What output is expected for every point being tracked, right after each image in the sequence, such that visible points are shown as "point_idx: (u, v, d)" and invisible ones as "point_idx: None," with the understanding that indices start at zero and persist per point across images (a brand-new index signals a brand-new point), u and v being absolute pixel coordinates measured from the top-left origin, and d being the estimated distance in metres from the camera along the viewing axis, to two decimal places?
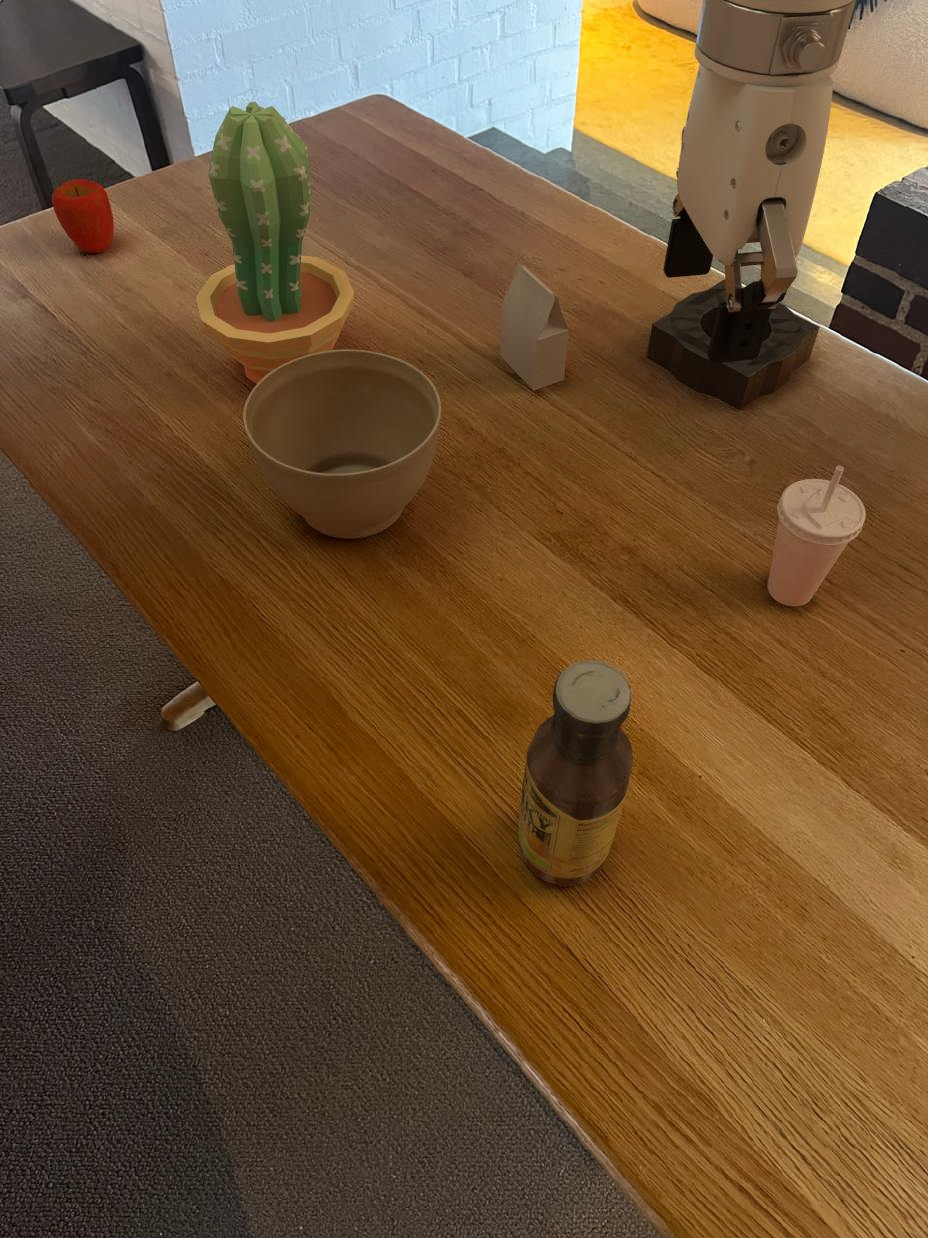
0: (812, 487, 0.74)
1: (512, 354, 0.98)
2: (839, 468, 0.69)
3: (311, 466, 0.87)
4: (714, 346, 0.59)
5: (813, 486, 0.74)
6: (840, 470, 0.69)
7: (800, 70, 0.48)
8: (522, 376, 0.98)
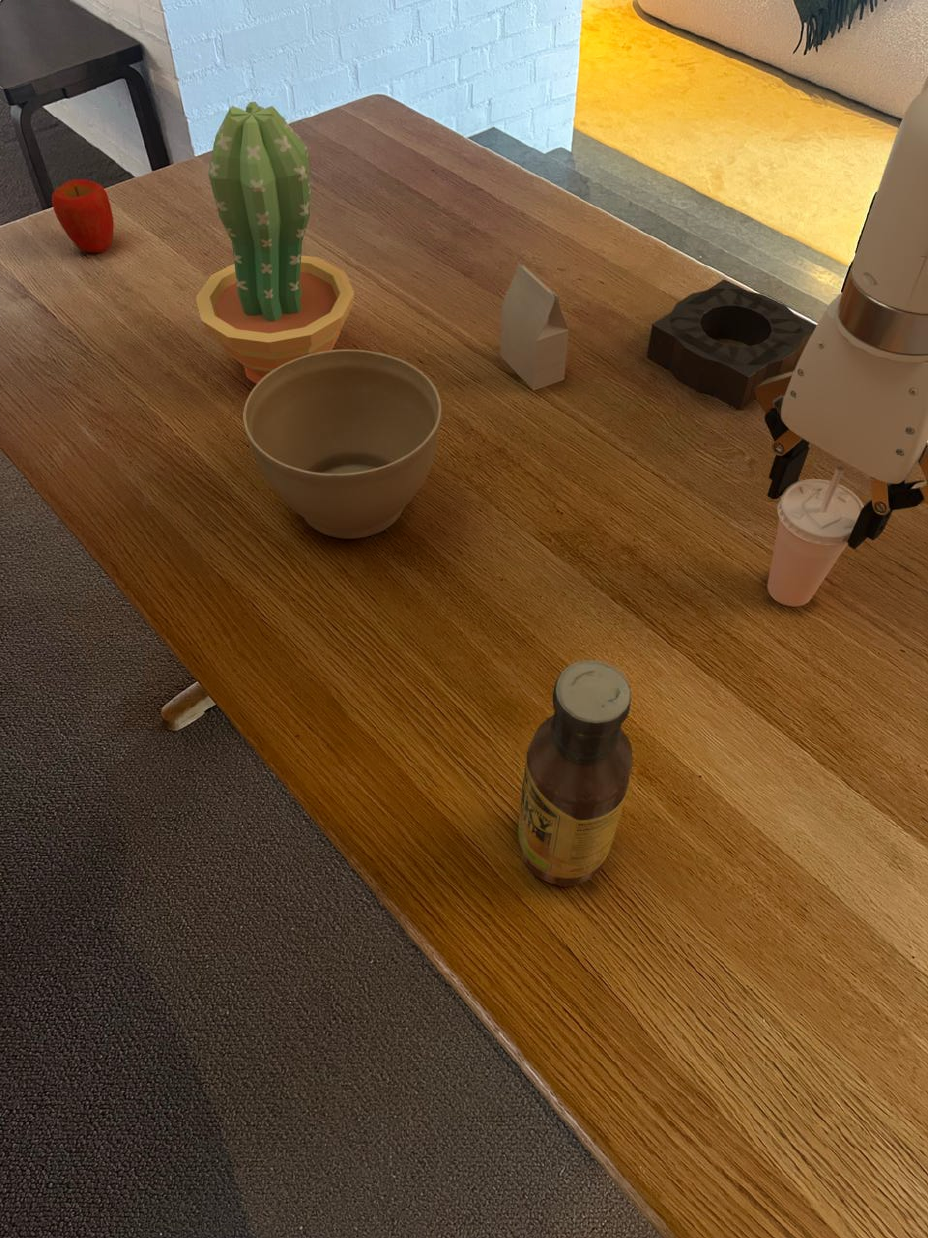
0: (812, 487, 0.74)
1: (512, 354, 0.98)
2: (840, 468, 0.69)
3: (311, 466, 0.87)
4: (859, 538, 0.70)
5: (813, 486, 0.74)
6: (840, 470, 0.69)
7: None
8: (522, 376, 0.98)
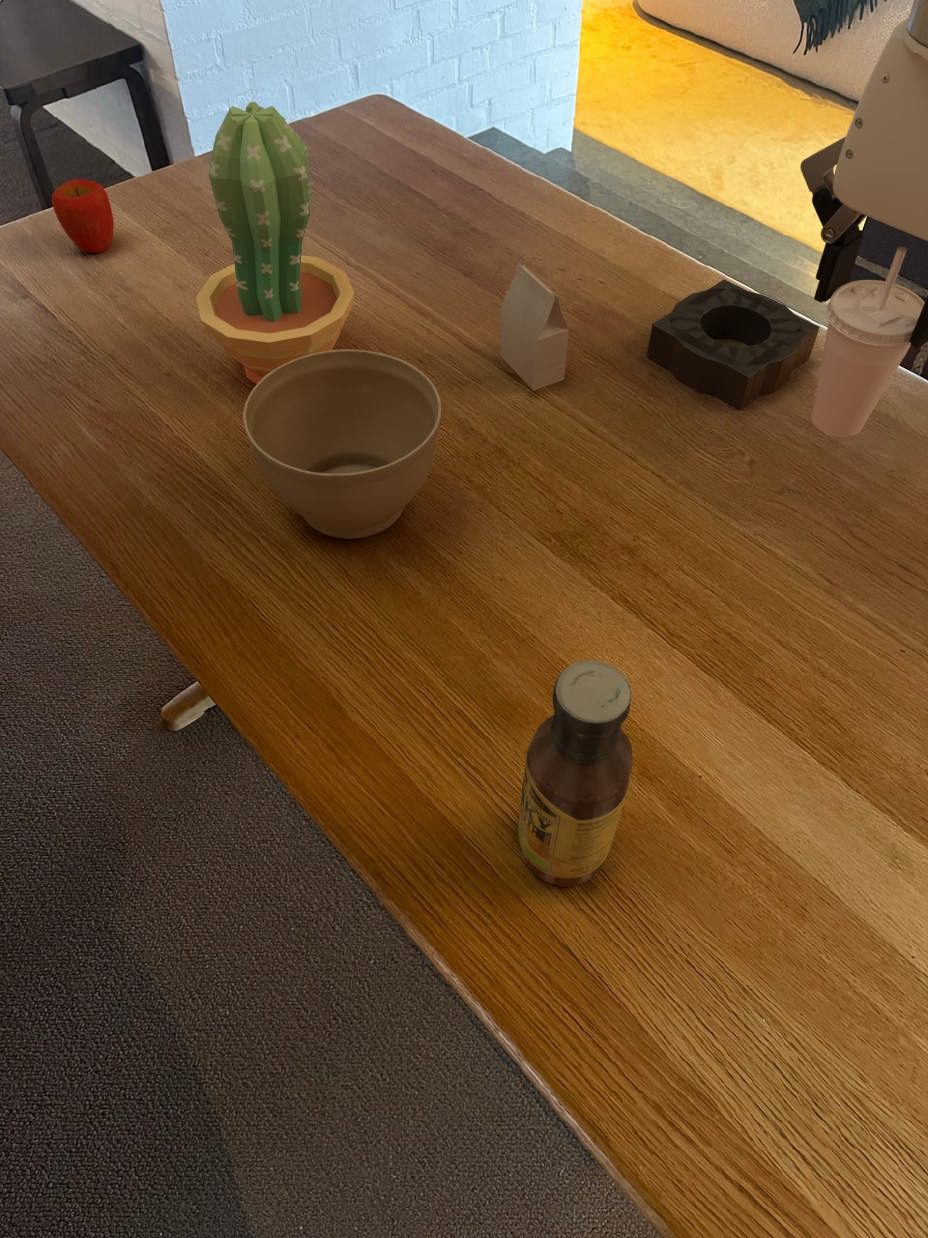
0: (866, 288, 0.65)
1: (512, 354, 0.98)
2: (901, 250, 0.60)
3: (311, 466, 0.87)
4: (924, 332, 0.60)
5: (867, 287, 0.65)
6: (902, 251, 0.59)
7: None
8: (522, 376, 0.98)
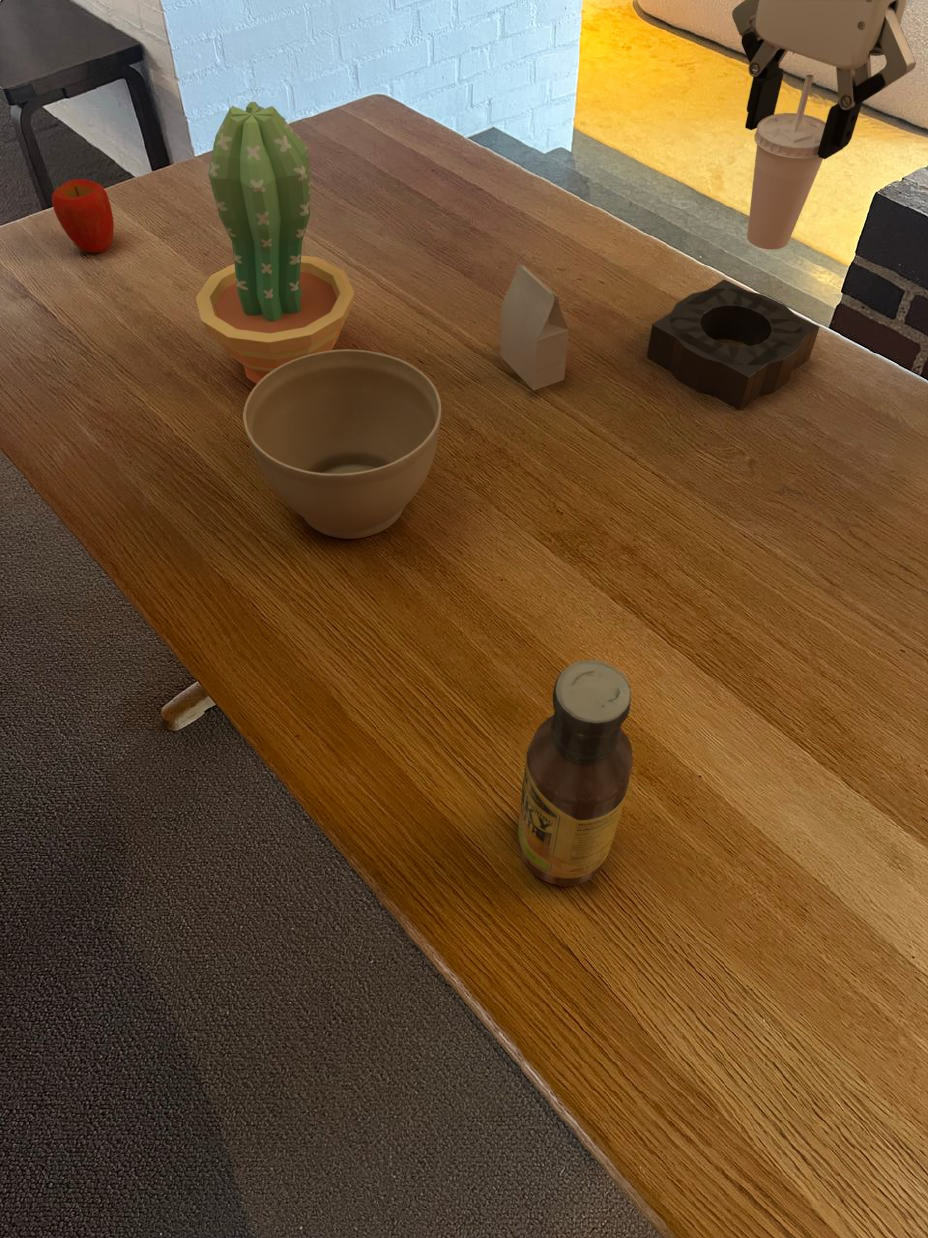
0: (786, 118, 0.81)
1: (512, 354, 0.98)
2: (809, 76, 0.76)
3: (311, 466, 0.87)
4: (828, 144, 0.77)
5: (787, 117, 0.81)
6: (810, 77, 0.76)
7: None
8: (522, 376, 0.98)
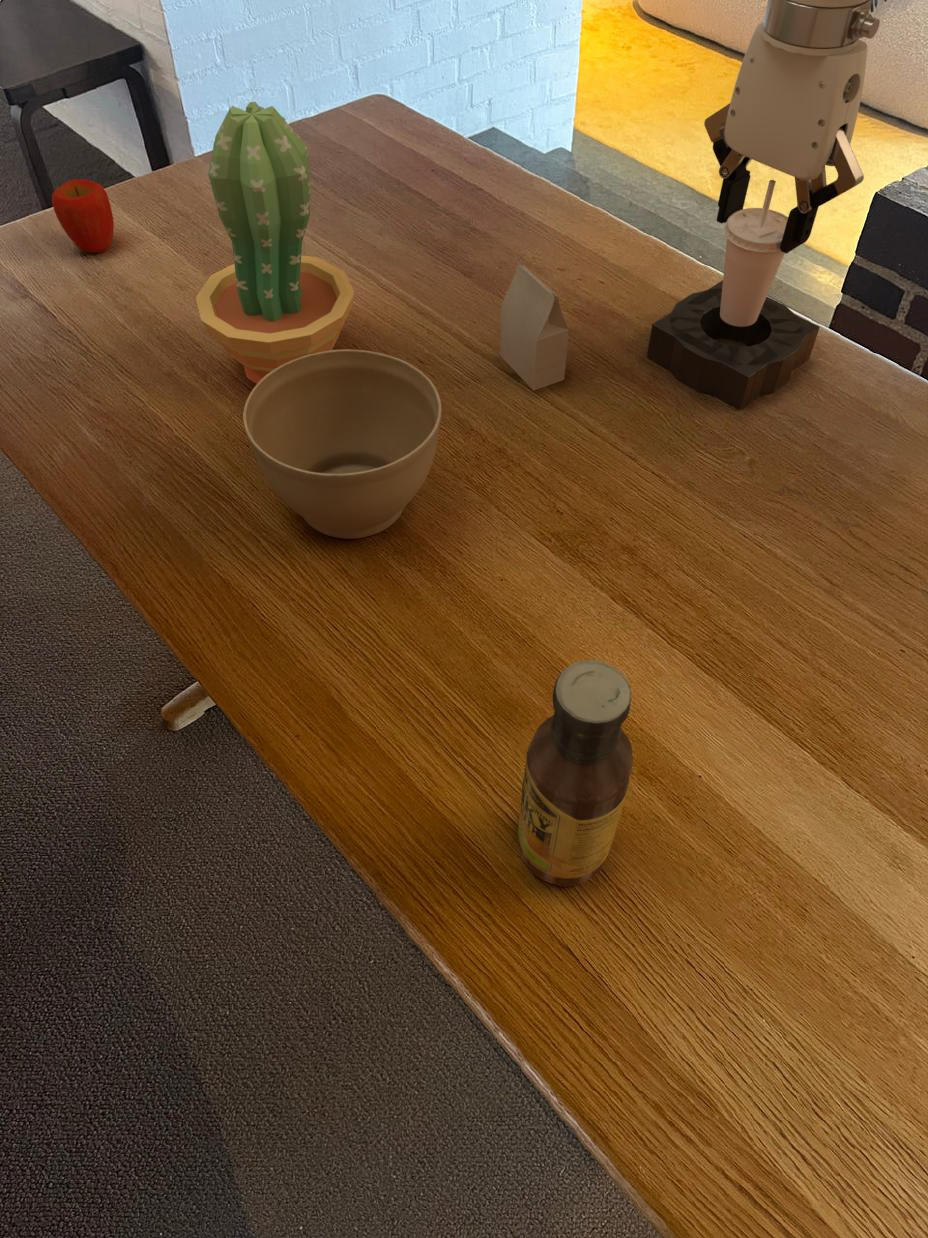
0: (753, 213, 0.90)
1: (512, 354, 0.98)
2: (772, 181, 0.85)
3: (311, 466, 0.87)
4: (788, 241, 0.86)
5: (754, 212, 0.90)
6: (772, 182, 0.85)
7: (855, 39, 0.74)
8: (522, 376, 0.98)
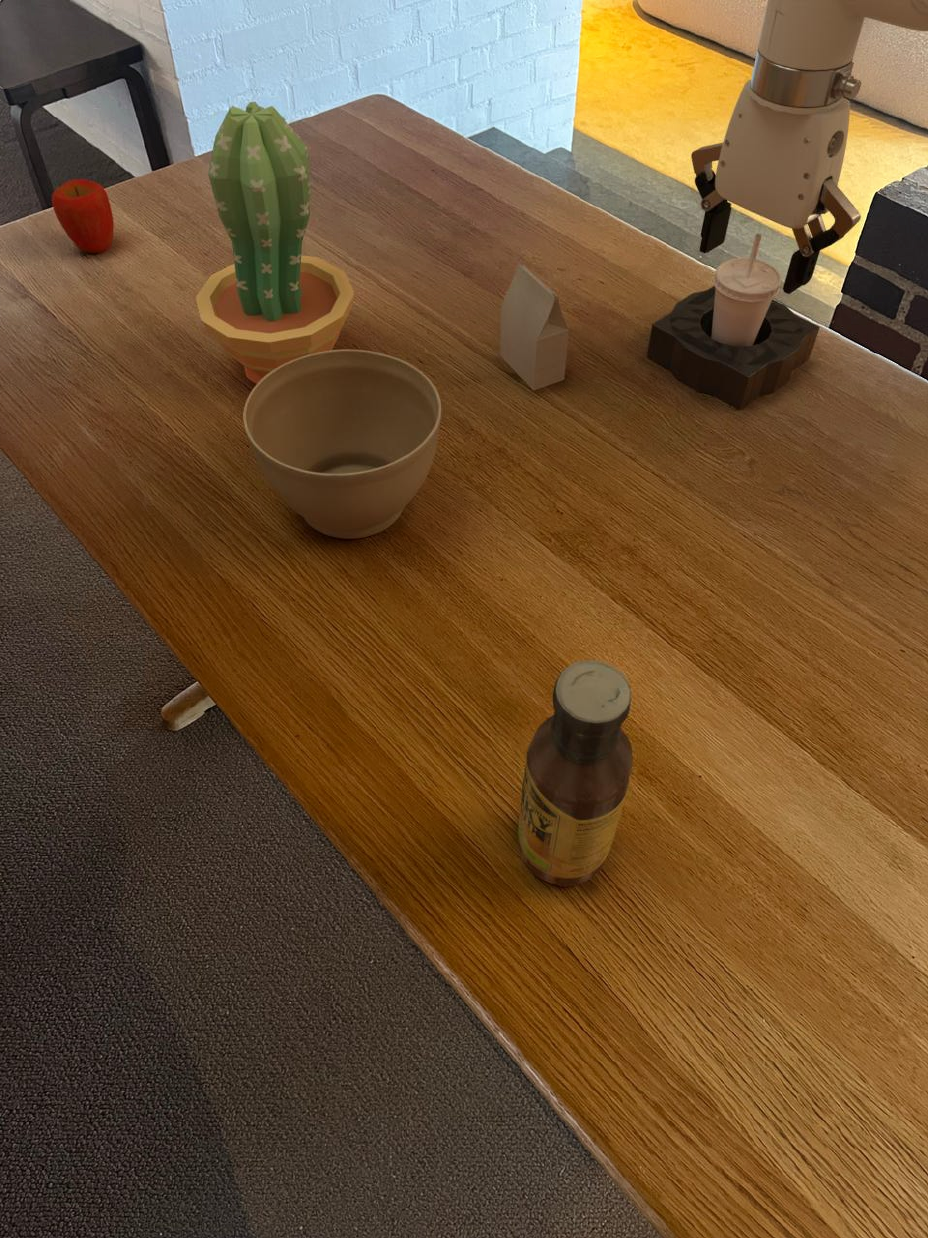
0: (741, 263, 0.94)
1: (512, 354, 0.98)
2: (758, 236, 0.89)
3: (311, 466, 0.87)
4: (791, 282, 0.88)
5: (742, 262, 0.94)
6: (758, 236, 0.89)
7: None
8: (522, 376, 0.98)
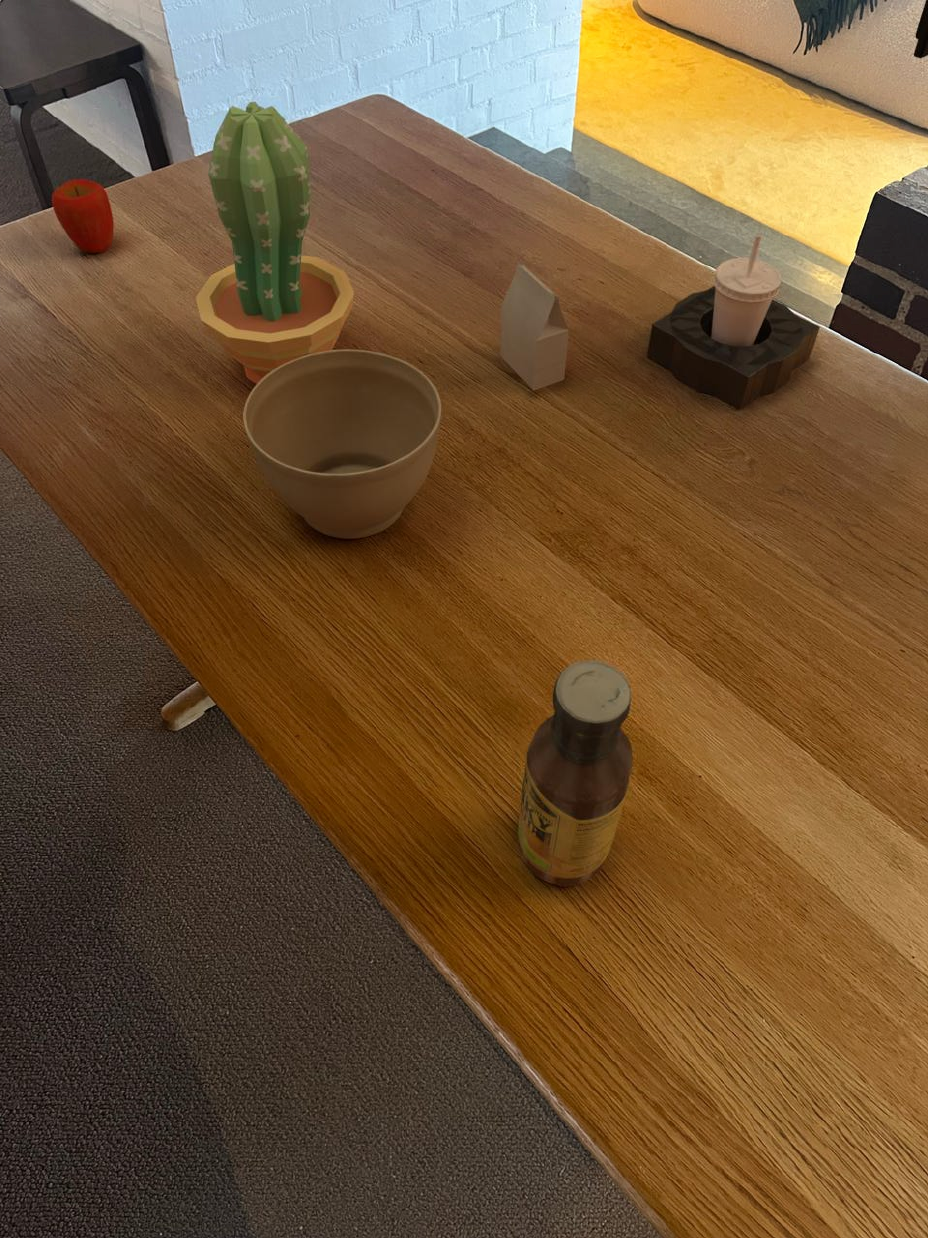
0: (741, 263, 0.94)
1: (512, 354, 0.98)
2: (758, 236, 0.89)
3: (311, 466, 0.87)
4: None
5: (742, 262, 0.94)
6: (758, 236, 0.89)
7: None
8: (522, 376, 0.98)
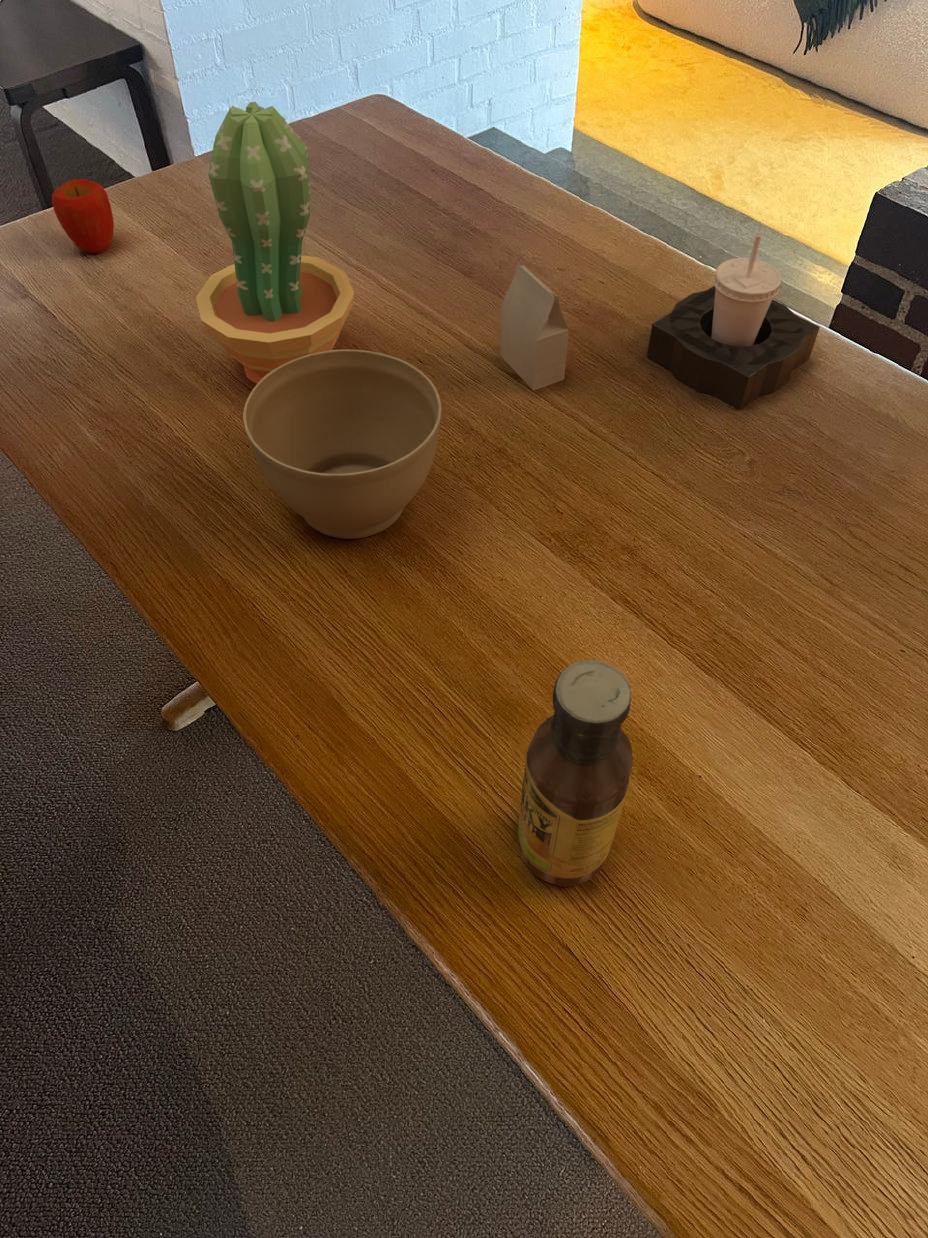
0: (741, 263, 0.94)
1: (512, 354, 0.98)
2: (758, 236, 0.89)
3: (311, 466, 0.87)
4: None
5: (742, 262, 0.94)
6: (758, 236, 0.89)
7: None
8: (522, 376, 0.98)
